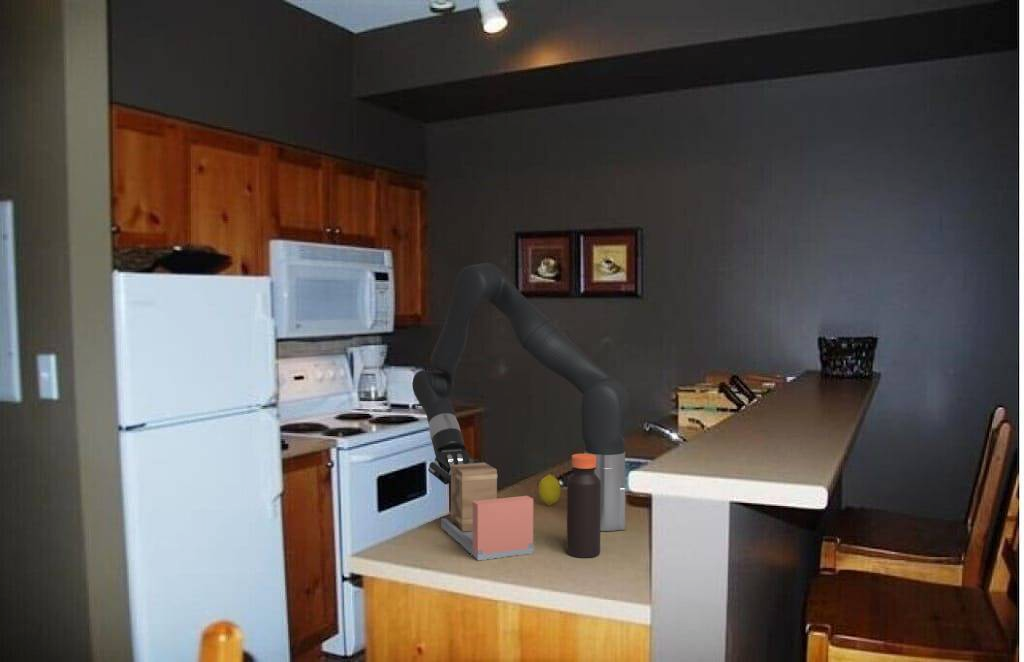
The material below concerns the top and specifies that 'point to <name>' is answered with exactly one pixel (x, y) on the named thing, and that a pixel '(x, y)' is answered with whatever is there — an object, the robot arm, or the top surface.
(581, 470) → the bottle
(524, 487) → the top surface
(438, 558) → the top surface
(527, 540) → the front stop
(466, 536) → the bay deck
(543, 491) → the lemon
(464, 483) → the crate
